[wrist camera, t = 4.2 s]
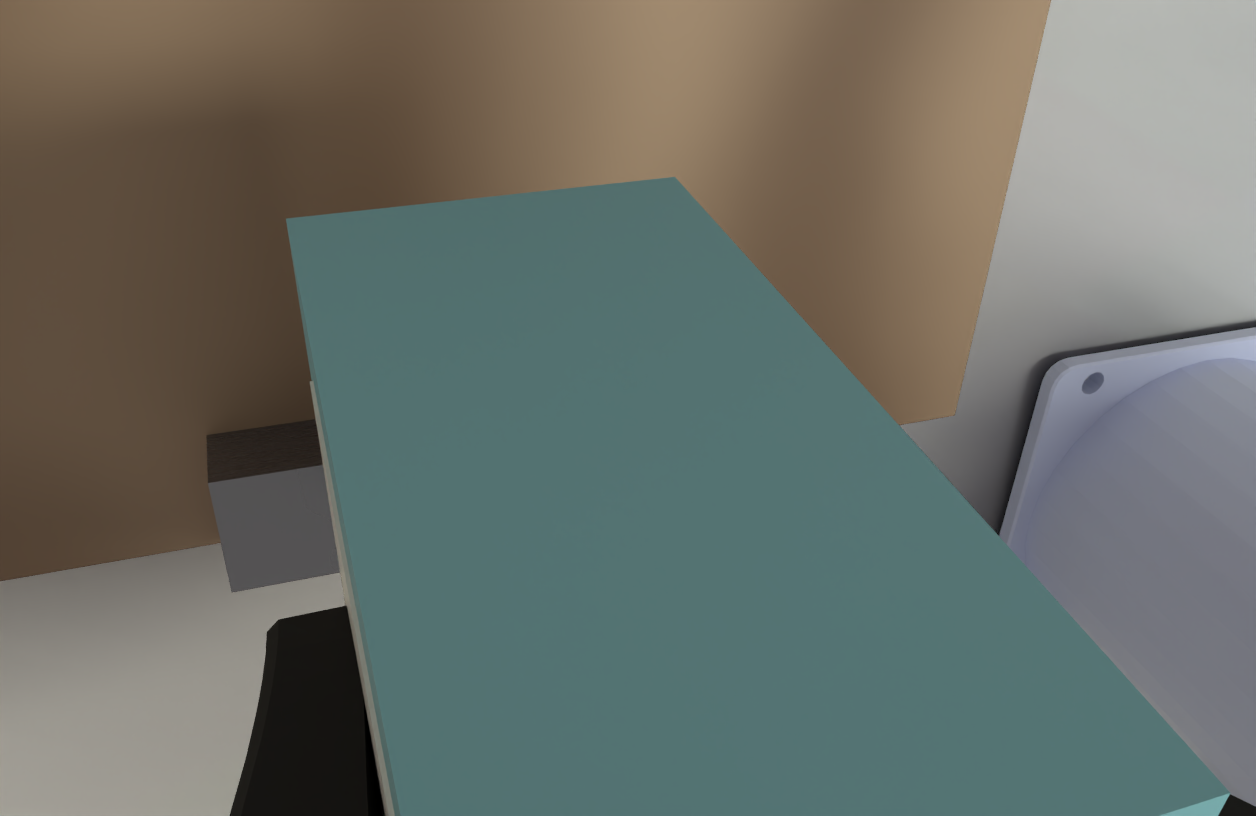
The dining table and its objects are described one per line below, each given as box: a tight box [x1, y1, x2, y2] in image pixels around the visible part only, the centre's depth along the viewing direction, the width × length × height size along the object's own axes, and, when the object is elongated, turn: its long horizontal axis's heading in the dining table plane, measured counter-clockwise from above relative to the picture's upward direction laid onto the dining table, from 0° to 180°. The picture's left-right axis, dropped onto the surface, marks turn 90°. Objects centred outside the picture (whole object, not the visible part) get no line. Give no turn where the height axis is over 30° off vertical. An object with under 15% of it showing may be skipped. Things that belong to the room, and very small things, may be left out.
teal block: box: [286, 177, 1230, 816], centre depth 9 cm, size 4×8×7 cm, turn 178°
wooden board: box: [0, 0, 1051, 592], centre depth 15 cm, size 18×14×3 cm
